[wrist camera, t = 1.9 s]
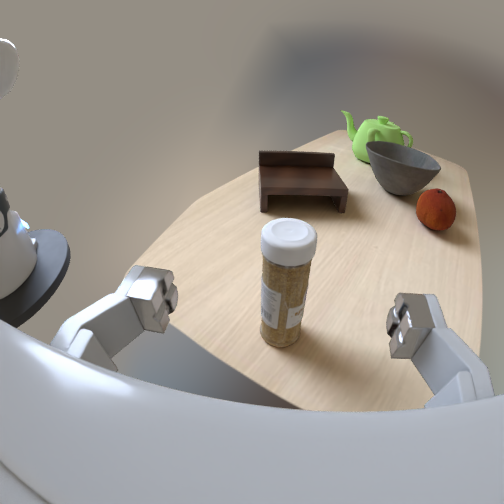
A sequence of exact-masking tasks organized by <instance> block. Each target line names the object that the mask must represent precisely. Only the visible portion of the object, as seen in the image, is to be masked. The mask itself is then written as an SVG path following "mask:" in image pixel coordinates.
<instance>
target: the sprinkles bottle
mask: <svg viewBox="0 0 504 504" xmlns="http://www.w3.org/2000/svg"><path fill="white" fill-rule="evenodd" d="M316 244H317V233H316V231H315V229H314V228H313V227H312V226H311V225H310V224H308V223H306V222H304V221H302V220H299V219H293V218H280V219H276V220H273V221H270V222H269V223H267V224H266V225H265V226H264V227H263V229H262V233H261V251H262V254H263V270H262V271H263V273H262V286H261V316H262V323H261V326H260V333H261V336H262V338H263V339H264V340H265V341H266V342H267V343H268V344H270V345H272V346H276V347H286V346H288V345H291V344H293V343H294V342H295V341H296V340H297V339H298V337H299V335H300V325H301V320H302V317H303V312H304V306H305V300H306V294H307V289H308V279H309V273H310V266H311V261H312V258H313V257H314V255H315V251H316Z"/></svg>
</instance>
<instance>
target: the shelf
mask: <svg viewBox="0 0 504 504" xmlns="http://www.w3.org/2000/svg"><path fill="white" fill-rule="evenodd" d="M334 158H335V154H334V153H320V152H297V151H259V195H260V209H261V212H267V202H268V195H317V196H330V197H331V199H332V201H333V203H334V204H335V206H336V208H337V210H338V212H339V213H345V208H346V202H347V196H348V188H347V187H346V185H345V184H344V182H343V181H342V179H341V178H340V176H339V175H338V174H337V172H336V171H335V169H334V168H333V166H334Z"/></svg>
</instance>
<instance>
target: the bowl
mask: <svg viewBox="0 0 504 504" xmlns="http://www.w3.org/2000/svg"><path fill="white" fill-rule="evenodd" d="M366 150H367V153H368V157H369V160H370V164H371V167H372V170H373V173H374V175H375V177H376V179H377V180H378V182H379V183H380V185H381V186H382V187H383V188H384V189H385V190H386V191H388V192H390V193H392V194H396V195H410V194H413V193H415V192H417V191H419V190H421V189H422V188H424V187H425V186H426V185H427V184H428V183H429V182H430V181H431V180H432V179H433V178H434V177H435V176H436V175H437V174H438V173H439V171H440V170H441V167H440V165H439V164H438V163H437V162H436V161H435V160H434V159H433V158H432V157H430V156H429V155H427V154H425V153H423V152H420V151H418V150H415V149H413V148H410V147H407V146H403V145H399V144H396V143H392V142H386V141H372V142H367V143H366Z"/></svg>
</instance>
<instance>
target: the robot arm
mask: <svg viewBox="0 0 504 504" xmlns="http://www.w3.org/2000/svg"><path fill="white" fill-rule="evenodd" d="M18 71H19V55H18V52H17V50H16V48H15V46H14V45H13V44H12V43H11V42H9V41H8V40H5V39H0V99H1V98H2V97H4V96H5V95H6V94H8V93H9V92H10V91H11V89H12V88H13V86H14V84H15V81H16V79H17V76H18ZM9 208H10V206H9V203H8V200H7V196H6V194H5V192H4V190H3V189H2V188H1V187H0V299H2V298H4V297H6V296H8V295H9V294H11V293H12V292H14V291H15V290H16V289H17V288H18V287H19V286H21V285H22V284H23V282H24V281H25V280H26V279H27V278H28V277H29V275H30V274H31V272H32V271H33V269H34V267H35V265H36V262H37V254H36V248H37V245H38V242H37V240H36V239H35V238H31V239H30V237H29V235H28V233H27V231H26V229H25V227H26V228H29V226H28V224H27V223H25V222H24V221H22V220H21V219H20V217H19V215H18V213H17V212H15V211H11V210H10V209H9ZM24 226H25V227H24ZM173 280H174V276H173V272H172V271H170V270H165V269H158V268H152V267H144V266H138V265H135V266H133V267H132V268H131V270H130V271H129V273H128V274H127V276H126V277H125V279H124V280H123V282H122V283H121V285H120V286H119V288H118V289H117V291H116V292H115V294H112V293H111V294H109V295H107V296H106V297H104V298H103V299H101V300H99V301H97V302H96V303H94V304H92V305H90V306H89V307H87V308H85V309H84V310H82V311H80V312H79V313H77V314H75V315H74V316H72V317H70V318H69V319H67V320H65V321H64V323H63V324H62V326H61V328H60V329H59V331H58V332H57V334H56V335H55V337H54V339H53V340H52V342H51V343H50V345H48V344H46V343H44V342H42V341H40V340H38V339H36V338H34V337H32V336H30V335H28V334H26V333H24V332H22V331H20V330H18V329H17V328H15V327H13V326H11V325H9V324H8V323H6V322H4V321H2V320H1V319H0V504H504V394H501V395H497V396H495V394H494V389H493V385H492V382H491V377H490V374H489V370H488V367H487V366H486V365H485V364H484V363H483V361H482V360H481V359H480V358H479V357H478V356H477V355H476V354H475V353H474V352H473V351H472V350H471V349H470V348H469V346H468V345H467V344H466V343H465V342H464V341H463V340H462V339H461V338H460V337H459V336H458V335H457V334H456V333H455V332H454V331H453V330H452V329H451V328H447V324H446V321H445V319H444V316H443V313H442V310H441V307H440V304H439V302H438V299H437V297H436V296H435V295H434V294H413V293H398V294H397V296H396V298H395V300H394V301H395V306H394V307H392V308H391V309H390V311H389V313H388V316H387V321H386V328H387V334H388V335H389V336H390V337H391V338H392V339H391V341H390V342H389V347H390V353H391V358H397V359H411V361H412V362H413V364H414V365H415V367H416V368H417V370H418V371H419V372H420V374H421V375H422V377H423V378H424V380H425V381H426V383H427V384H428V386H429V387H430V389H431V391H432V392H433V394H434V396H433V397H432V398H431V399H430V400H429V401H428V402H427V403H426V404H425V405H424V408H421V409H410V410H397V411H377V412H332V411H311V410H296V409H285V408H275V407H267V406H259V405H252V404H245V403H239V402H233V401H226V400H221V399H216V398H211V397H206V396H201V395H196V394H192V393H188V392H183V391H179V390H175V389H171V388H167V387H163V386H160V385H156V384H152V383H149V382H146V381H142V380H139V379H136V378H132V377H129V376H126V375H123V374H120V373H117V371H118V369H117V367H116V365H115V364H114V362H113V361H112V360H111V358H112V357H113V356H114V355H116V354H117V353H118V352H119V351H120V350H122V349H123V348H124V347H125V346H127V345H128V344H129V343H130V342H131V341H133V340H134V339H135V338H136V337H137V336H139V335H140V334H141V333H142V332H143V331H144V330H148V331H152V332H158V333H164V332H165V330H166V328H167V326H168V323H169V321H170V319H169V316H168V315H169V314H170V313H172V312H174V310H175V308H176V306H177V301H178V291H177V287H176V286H175V285H174V284H173V283H172V282H173Z"/></svg>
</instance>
